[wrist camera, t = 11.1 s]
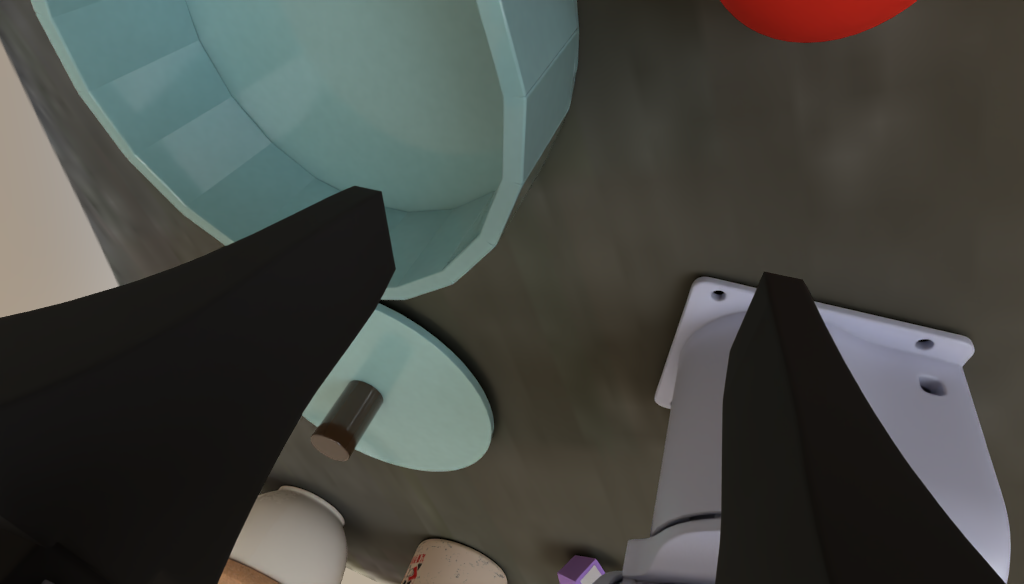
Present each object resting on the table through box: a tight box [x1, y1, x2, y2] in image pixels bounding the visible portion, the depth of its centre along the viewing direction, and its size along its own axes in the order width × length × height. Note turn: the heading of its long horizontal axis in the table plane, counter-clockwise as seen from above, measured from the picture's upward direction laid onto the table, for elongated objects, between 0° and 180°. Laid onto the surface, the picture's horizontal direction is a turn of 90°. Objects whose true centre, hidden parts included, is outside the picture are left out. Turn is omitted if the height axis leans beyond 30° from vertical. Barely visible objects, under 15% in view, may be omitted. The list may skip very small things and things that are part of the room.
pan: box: [31, 0, 579, 300], centre depth 17 cm, size 15×15×6 cm
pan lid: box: [302, 303, 494, 472], centre depth 33 cm, size 16×16×5 cm
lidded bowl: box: [218, 486, 347, 584], centre depth 50 cm, size 13×13×11 cm
